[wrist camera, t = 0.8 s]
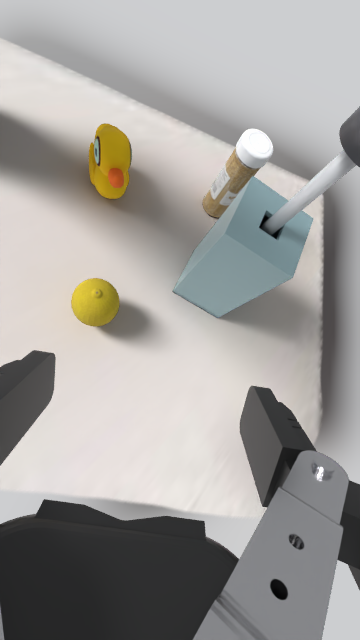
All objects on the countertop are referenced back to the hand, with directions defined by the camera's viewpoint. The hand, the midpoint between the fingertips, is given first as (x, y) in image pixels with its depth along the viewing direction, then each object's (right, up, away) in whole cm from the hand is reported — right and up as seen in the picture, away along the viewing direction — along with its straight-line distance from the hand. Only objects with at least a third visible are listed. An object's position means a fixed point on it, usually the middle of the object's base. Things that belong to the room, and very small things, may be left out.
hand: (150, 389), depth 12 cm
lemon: (-10, +4, +26) cm, 29 cm away
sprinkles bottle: (+7, +22, +36) cm, 43 cm away
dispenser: (+5, +8, +32) cm, 34 cm away
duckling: (-10, +23, +31) cm, 40 cm away
